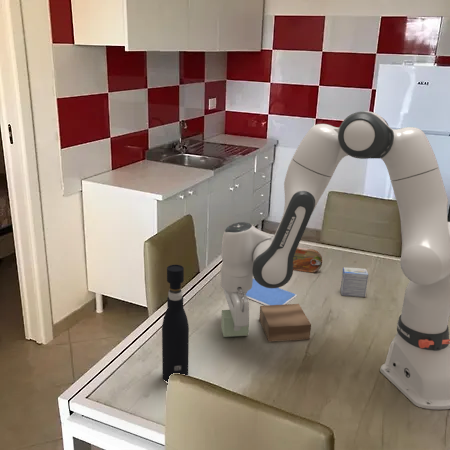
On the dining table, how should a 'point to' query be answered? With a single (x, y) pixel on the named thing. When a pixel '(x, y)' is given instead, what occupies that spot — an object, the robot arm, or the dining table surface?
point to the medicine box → (354, 282)
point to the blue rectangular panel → (269, 295)
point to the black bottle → (175, 327)
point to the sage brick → (231, 326)
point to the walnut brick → (284, 322)
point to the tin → (307, 260)
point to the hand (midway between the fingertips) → (234, 323)
